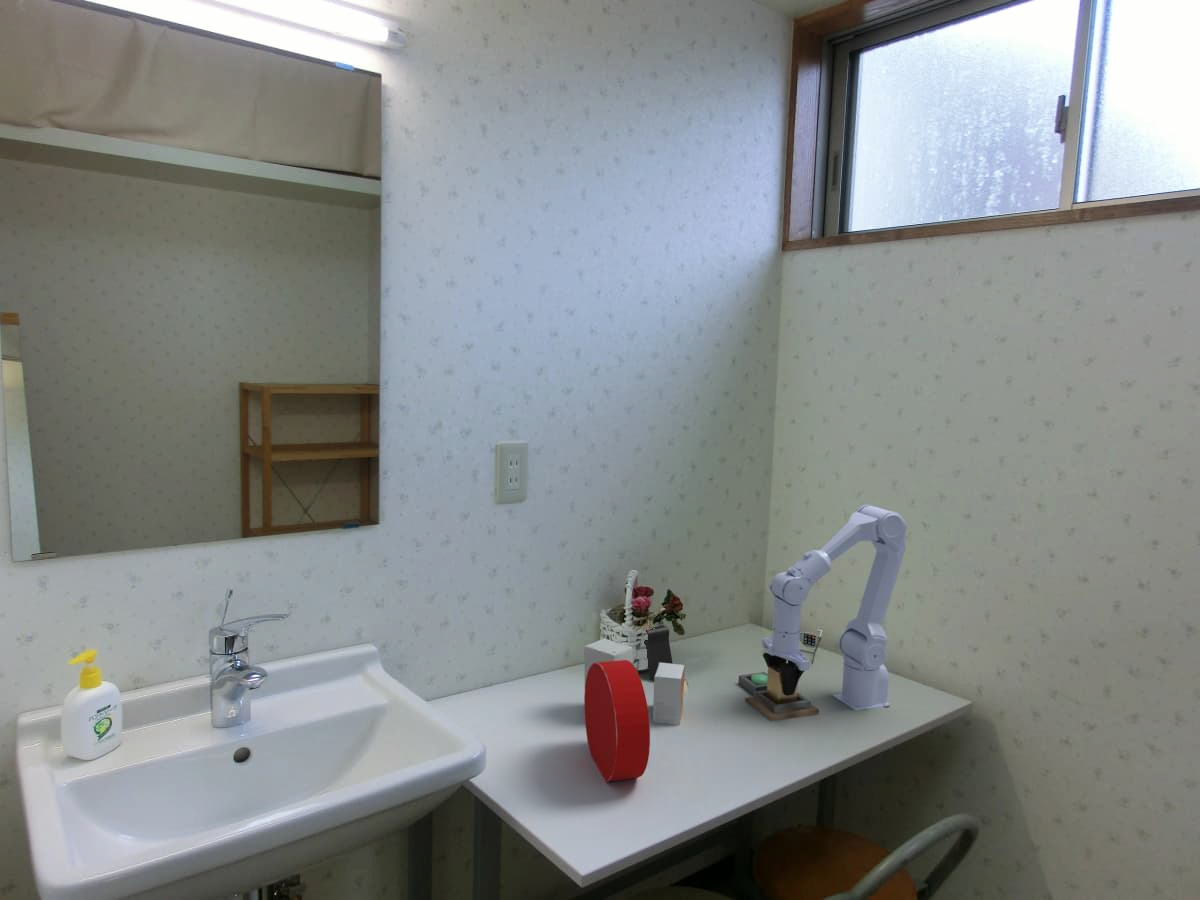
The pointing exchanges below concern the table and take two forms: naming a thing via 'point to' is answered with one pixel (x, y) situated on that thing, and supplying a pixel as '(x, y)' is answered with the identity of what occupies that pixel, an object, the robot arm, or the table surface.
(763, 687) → the button housing
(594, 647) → the skincare box
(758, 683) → the button
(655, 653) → the phone stand
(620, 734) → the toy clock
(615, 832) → the table surface
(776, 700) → the block
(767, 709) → the framed wooden tray
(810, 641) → the smart glasses
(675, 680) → the small box
